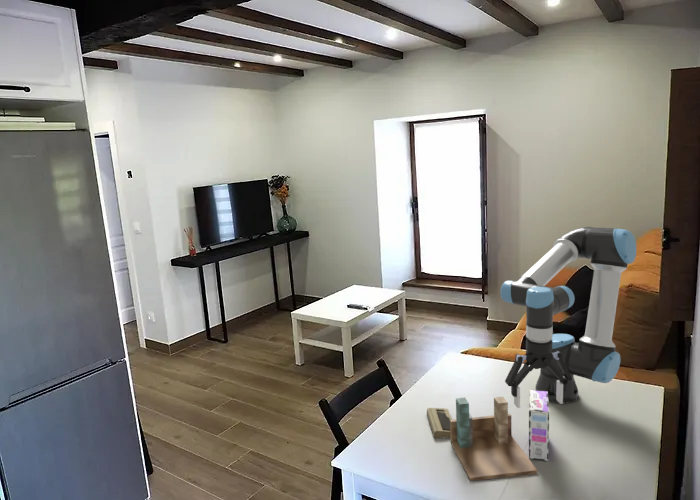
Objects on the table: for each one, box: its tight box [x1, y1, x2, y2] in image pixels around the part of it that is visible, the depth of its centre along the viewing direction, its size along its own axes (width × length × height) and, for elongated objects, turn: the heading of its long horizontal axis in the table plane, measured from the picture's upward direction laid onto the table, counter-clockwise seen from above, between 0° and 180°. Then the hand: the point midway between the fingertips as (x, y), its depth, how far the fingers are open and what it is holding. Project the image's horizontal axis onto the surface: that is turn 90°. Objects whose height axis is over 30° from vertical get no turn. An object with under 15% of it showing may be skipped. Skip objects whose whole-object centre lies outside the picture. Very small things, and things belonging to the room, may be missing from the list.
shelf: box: [450, 396, 538, 482], centre depth 153 cm, size 20×20×16 cm
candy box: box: [528, 389, 550, 462], centre depth 157 cm, size 14×6×16 cm, turn 160°
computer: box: [426, 407, 453, 439], centre depth 175 cm, size 16×8×3 cm, turn 0°
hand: (538, 403), depth 155 cm, fingers open, 13 cm apart
